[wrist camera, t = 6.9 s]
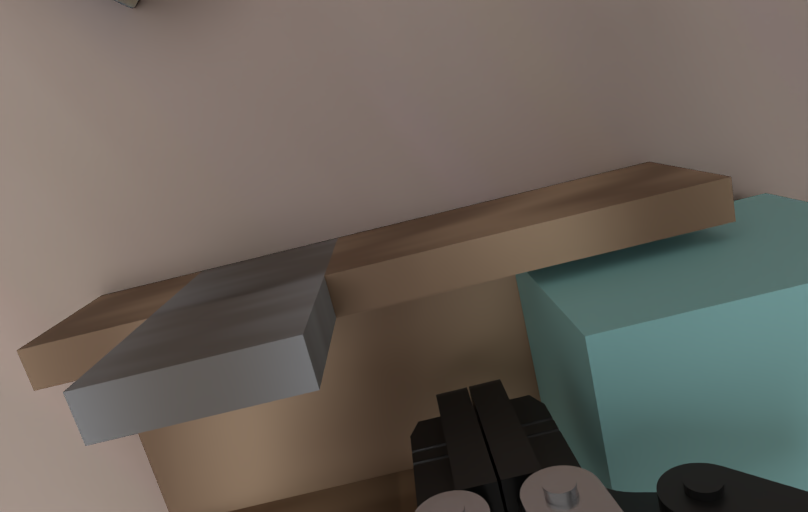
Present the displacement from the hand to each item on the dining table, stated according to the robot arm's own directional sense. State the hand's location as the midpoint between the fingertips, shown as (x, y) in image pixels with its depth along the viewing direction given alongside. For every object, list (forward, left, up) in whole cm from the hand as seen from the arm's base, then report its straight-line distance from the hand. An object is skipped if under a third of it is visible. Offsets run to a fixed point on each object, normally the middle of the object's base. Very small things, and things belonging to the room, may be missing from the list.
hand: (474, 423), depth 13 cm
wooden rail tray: (+1, 0, -5) cm, 5 cm away
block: (-6, 0, -4) cm, 7 cm away
